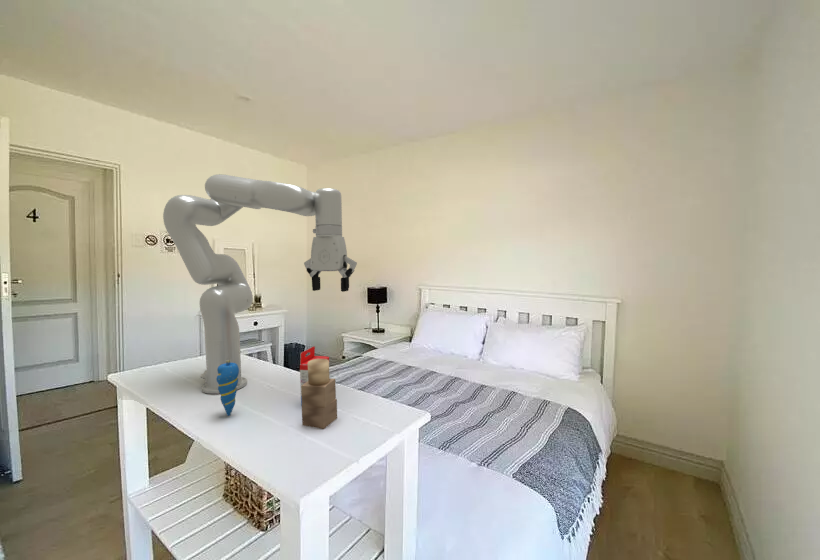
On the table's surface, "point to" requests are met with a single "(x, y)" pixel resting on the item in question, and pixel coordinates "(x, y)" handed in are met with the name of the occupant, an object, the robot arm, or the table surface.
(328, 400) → the top block
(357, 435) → the table surface
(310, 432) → the table surface
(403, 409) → the table surface
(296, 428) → the table surface
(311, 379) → the beige knob
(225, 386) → the ornament
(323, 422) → the bottom block
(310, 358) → the ink box
